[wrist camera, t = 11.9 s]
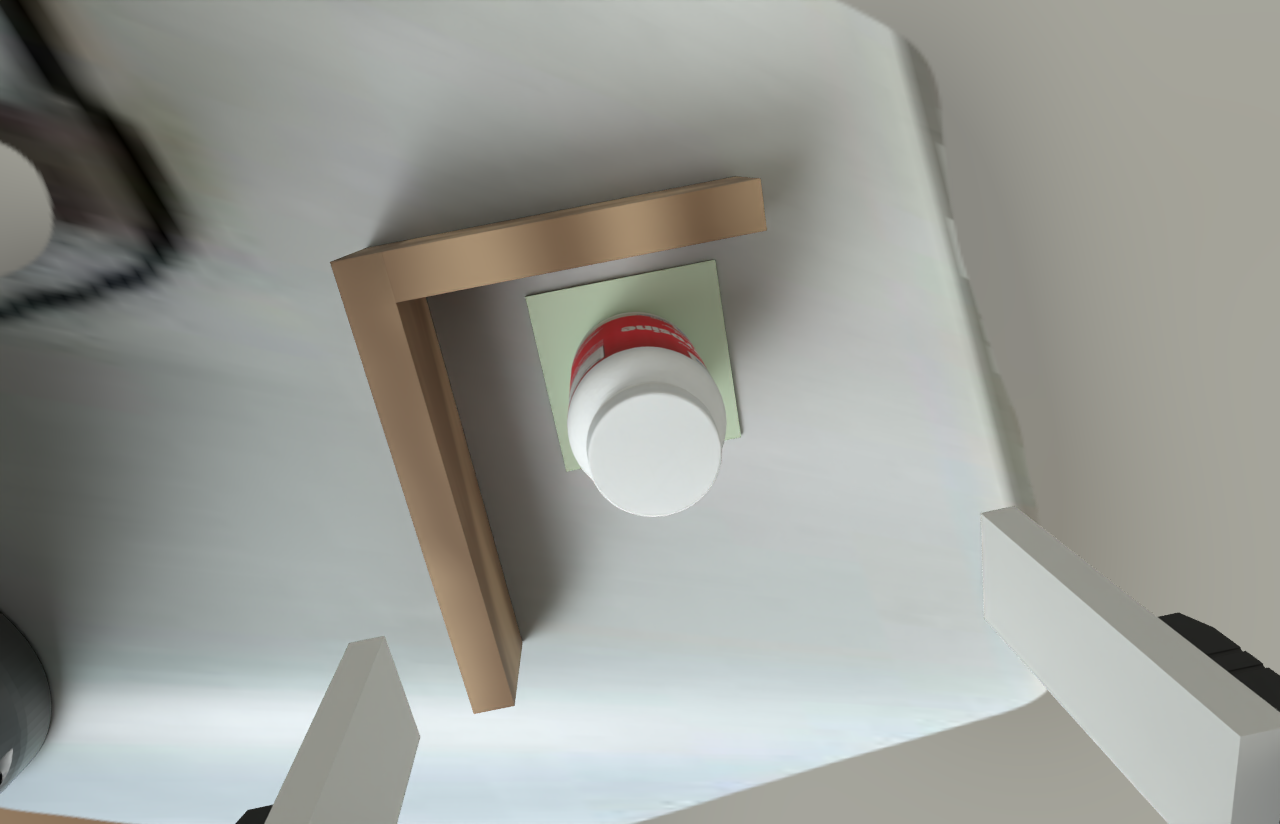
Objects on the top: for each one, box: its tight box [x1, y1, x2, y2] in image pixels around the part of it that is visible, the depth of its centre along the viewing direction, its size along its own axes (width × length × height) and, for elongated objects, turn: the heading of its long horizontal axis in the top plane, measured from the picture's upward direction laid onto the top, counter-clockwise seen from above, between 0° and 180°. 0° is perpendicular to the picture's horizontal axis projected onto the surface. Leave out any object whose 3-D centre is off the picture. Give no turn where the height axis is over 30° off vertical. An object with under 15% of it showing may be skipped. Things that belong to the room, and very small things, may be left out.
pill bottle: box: [567, 312, 727, 517], centre depth 31 cm, size 6×6×11 cm
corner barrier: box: [330, 176, 767, 714], centre depth 35 cm, size 17×22×5 cm
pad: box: [525, 260, 741, 472], centre depth 36 cm, size 9×9×1 cm
